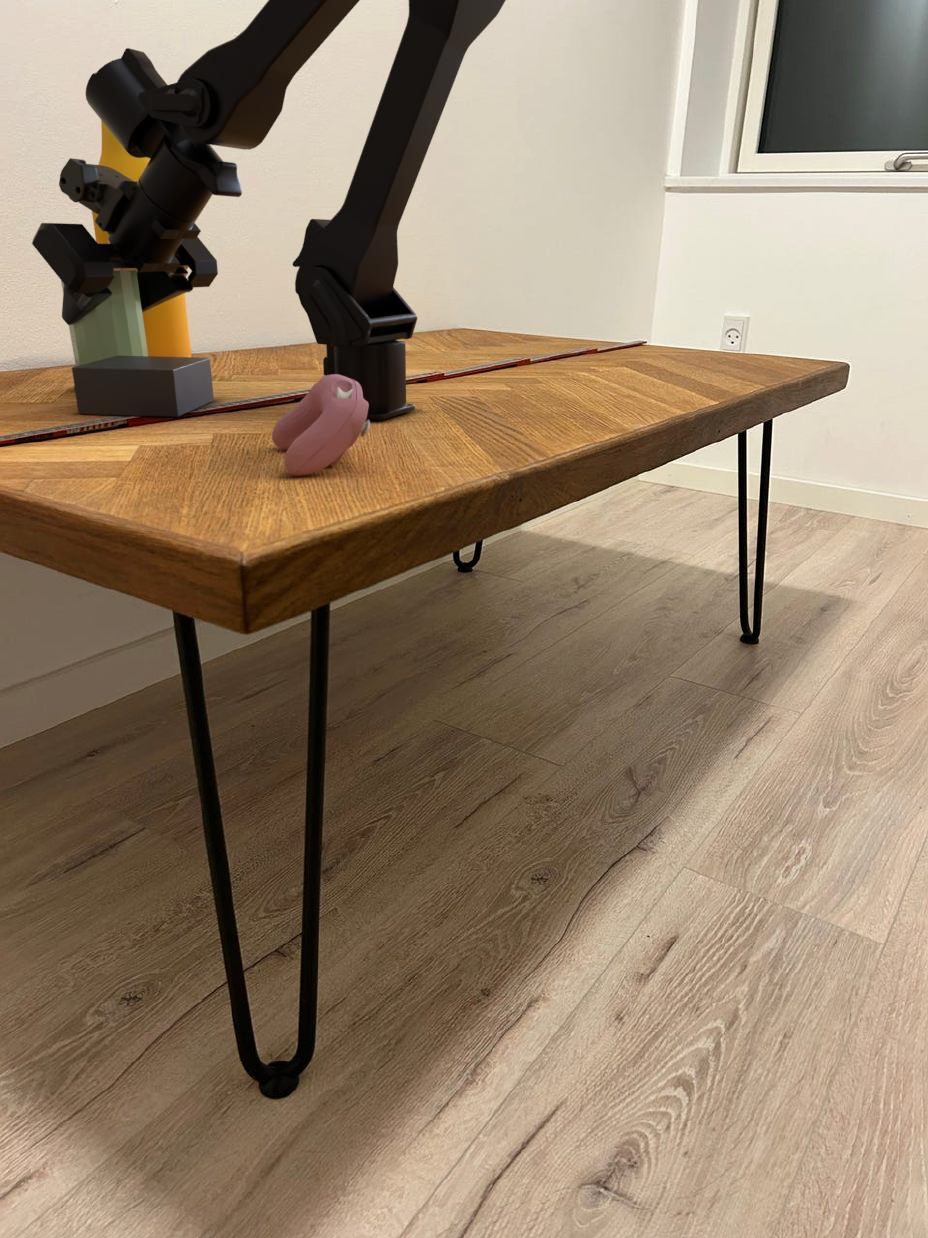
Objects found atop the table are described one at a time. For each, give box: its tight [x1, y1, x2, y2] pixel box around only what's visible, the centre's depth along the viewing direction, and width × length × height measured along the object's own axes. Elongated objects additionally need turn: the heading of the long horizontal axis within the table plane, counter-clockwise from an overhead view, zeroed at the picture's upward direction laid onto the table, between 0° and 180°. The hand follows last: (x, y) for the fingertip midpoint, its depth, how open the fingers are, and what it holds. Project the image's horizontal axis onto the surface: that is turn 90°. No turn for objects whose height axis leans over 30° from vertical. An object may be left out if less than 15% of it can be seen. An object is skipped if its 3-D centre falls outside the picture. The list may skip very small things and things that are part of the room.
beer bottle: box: [91, 119, 192, 357], centre depth 104 cm, size 9×9×29 cm
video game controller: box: [271, 374, 371, 477], centre depth 63 cm, size 10×5×7 cm, turn 17°
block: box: [71, 356, 215, 418], centre depth 83 cm, size 9×9×4 cm
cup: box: [60, 270, 148, 366], centre depth 91 cm, size 7×7×13 cm
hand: (95, 318), depth 91 cm, fingers closed on cup, 7 cm apart
